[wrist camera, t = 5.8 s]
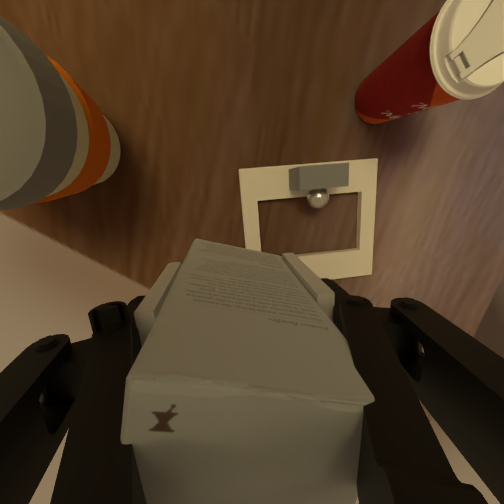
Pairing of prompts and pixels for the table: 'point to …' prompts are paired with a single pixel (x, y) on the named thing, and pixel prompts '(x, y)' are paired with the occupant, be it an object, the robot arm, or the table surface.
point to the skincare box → (244, 389)
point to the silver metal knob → (318, 198)
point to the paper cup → (439, 63)
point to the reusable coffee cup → (47, 128)
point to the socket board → (298, 185)
